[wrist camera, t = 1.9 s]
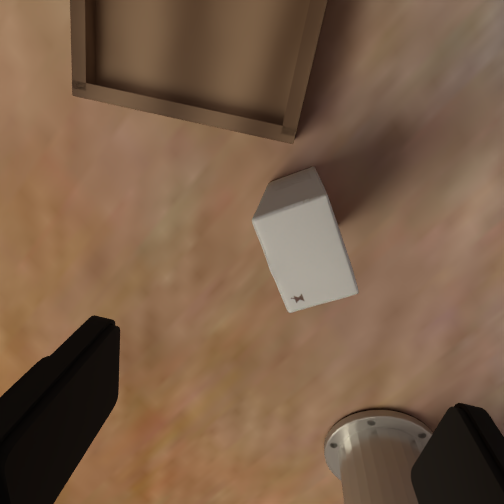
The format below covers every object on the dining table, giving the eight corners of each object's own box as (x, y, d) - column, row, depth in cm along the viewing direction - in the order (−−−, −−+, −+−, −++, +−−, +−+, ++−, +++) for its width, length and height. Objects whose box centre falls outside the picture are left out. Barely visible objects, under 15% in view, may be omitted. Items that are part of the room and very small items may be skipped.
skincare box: (335, 228, 28) (361, 297, 17) (290, 243, 29) (286, 317, 18) (315, 162, 26) (328, 191, 15) (266, 180, 27) (247, 220, 16)
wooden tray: (350, -98, 20) (363, -150, 16) (293, 140, 26) (293, 144, 22) (107, -143, 21) (65, -204, 17) (105, 99, 26) (72, 95, 23)
